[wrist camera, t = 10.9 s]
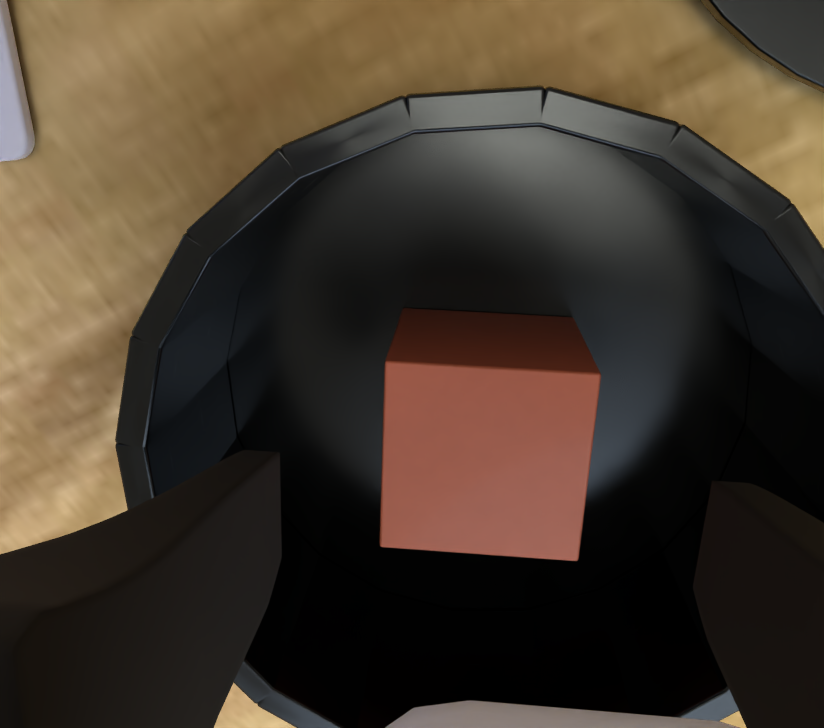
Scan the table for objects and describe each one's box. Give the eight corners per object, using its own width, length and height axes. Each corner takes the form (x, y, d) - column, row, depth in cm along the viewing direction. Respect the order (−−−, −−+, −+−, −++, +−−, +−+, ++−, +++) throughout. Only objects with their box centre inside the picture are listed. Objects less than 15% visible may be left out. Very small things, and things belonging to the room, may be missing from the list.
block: (396, 461, 19) (379, 547, 16) (402, 307, 18) (384, 360, 14) (557, 472, 19) (578, 562, 15) (574, 316, 18) (601, 373, 14)
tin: (247, 619, 22) (179, 778, 17) (172, 113, 17) (49, 116, 12) (746, 617, 21) (837, 788, 15) (795, 74, 16) (945, 59, 11)
